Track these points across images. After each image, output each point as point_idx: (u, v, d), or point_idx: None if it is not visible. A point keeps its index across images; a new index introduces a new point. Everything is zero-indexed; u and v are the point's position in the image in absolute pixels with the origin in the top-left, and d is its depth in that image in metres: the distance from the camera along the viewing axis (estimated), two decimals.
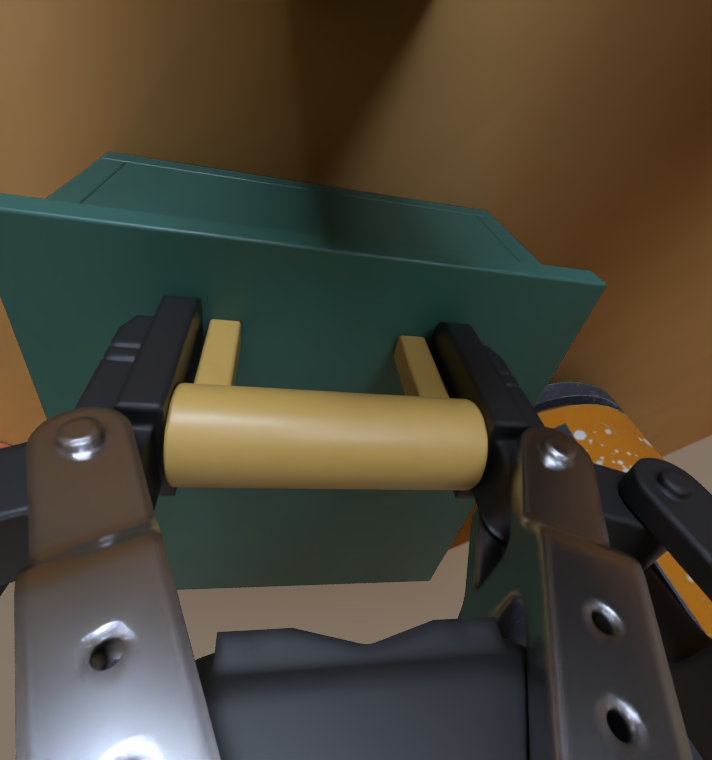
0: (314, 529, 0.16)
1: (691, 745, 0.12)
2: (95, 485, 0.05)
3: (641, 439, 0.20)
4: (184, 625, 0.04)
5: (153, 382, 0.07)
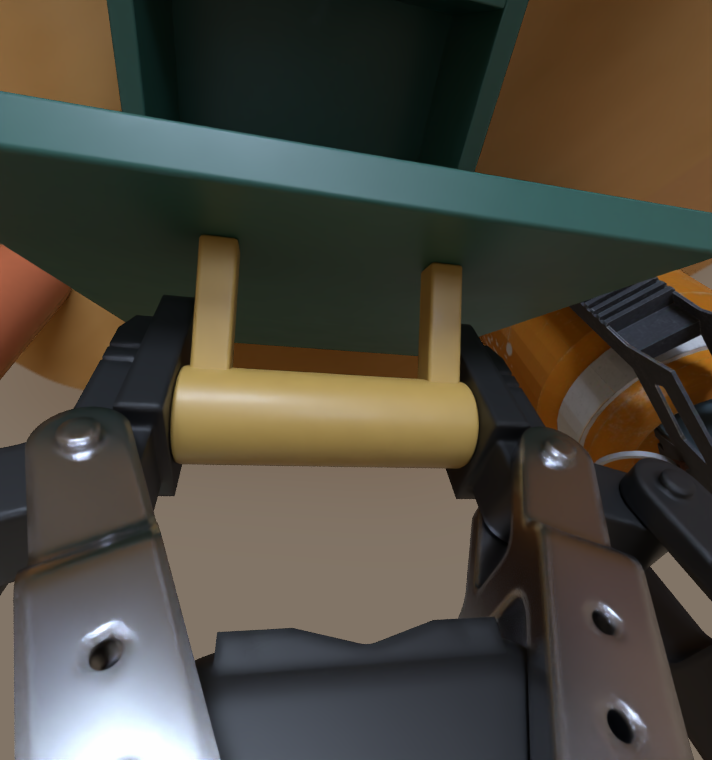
0: (322, 332, 0.17)
1: (635, 342, 0.14)
2: (94, 486, 0.05)
3: None
4: (183, 625, 0.04)
5: (152, 382, 0.07)
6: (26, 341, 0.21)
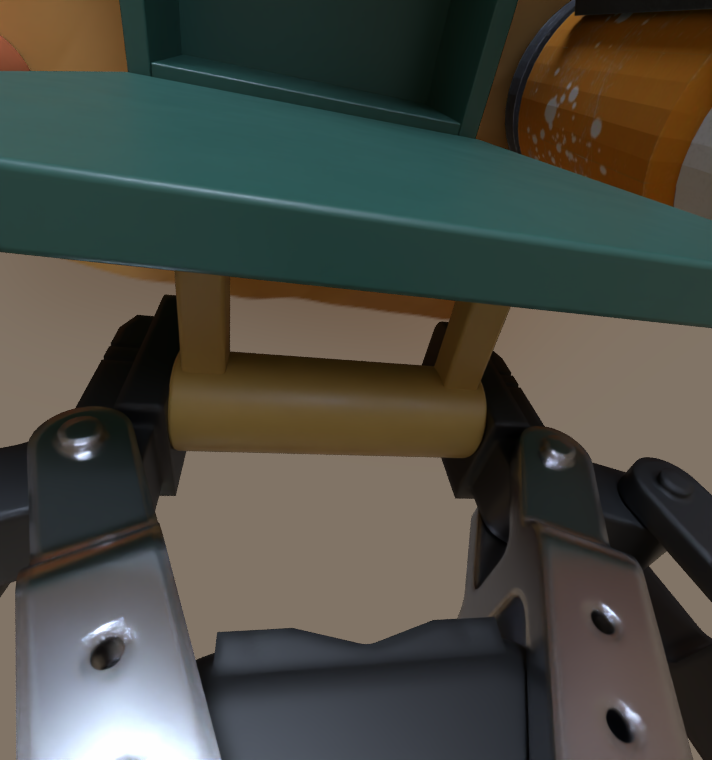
0: None
1: None
2: (96, 485, 0.05)
3: None
4: (185, 624, 0.04)
5: (154, 382, 0.07)
6: None
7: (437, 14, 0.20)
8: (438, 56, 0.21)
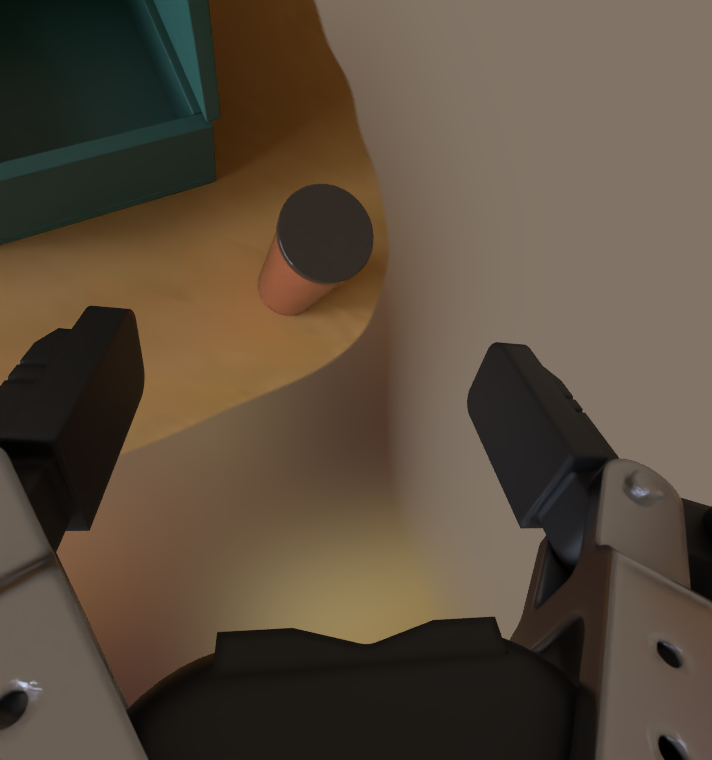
0: None
1: None
2: None
3: None
4: (98, 656, 0.03)
5: (51, 408, 0.06)
6: None
7: None
8: None
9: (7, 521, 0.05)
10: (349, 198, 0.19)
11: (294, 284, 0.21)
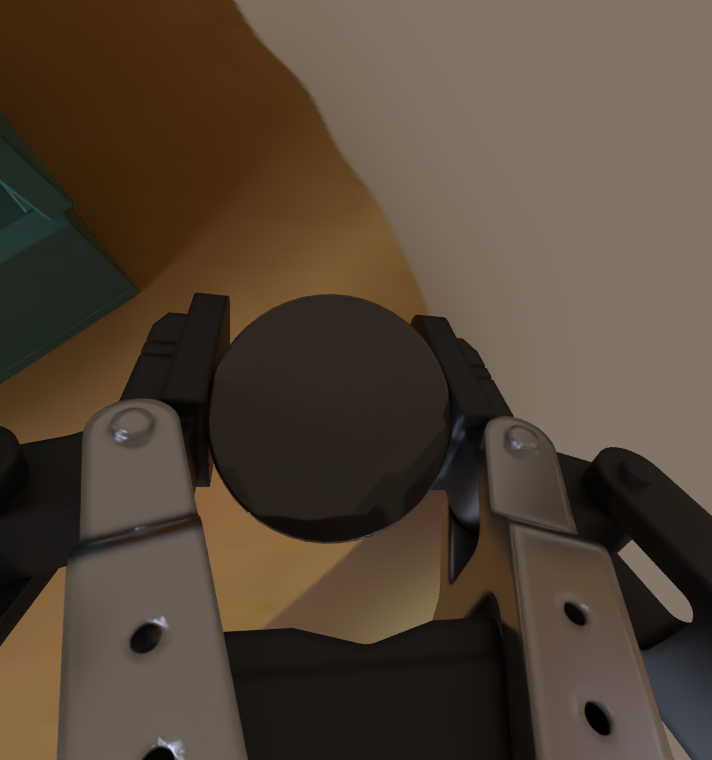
0: None
1: None
2: (143, 474, 0.05)
3: None
4: (219, 618, 0.04)
5: (193, 376, 0.07)
6: None
7: None
8: None
9: (169, 475, 0.05)
10: (367, 312, 0.08)
11: None
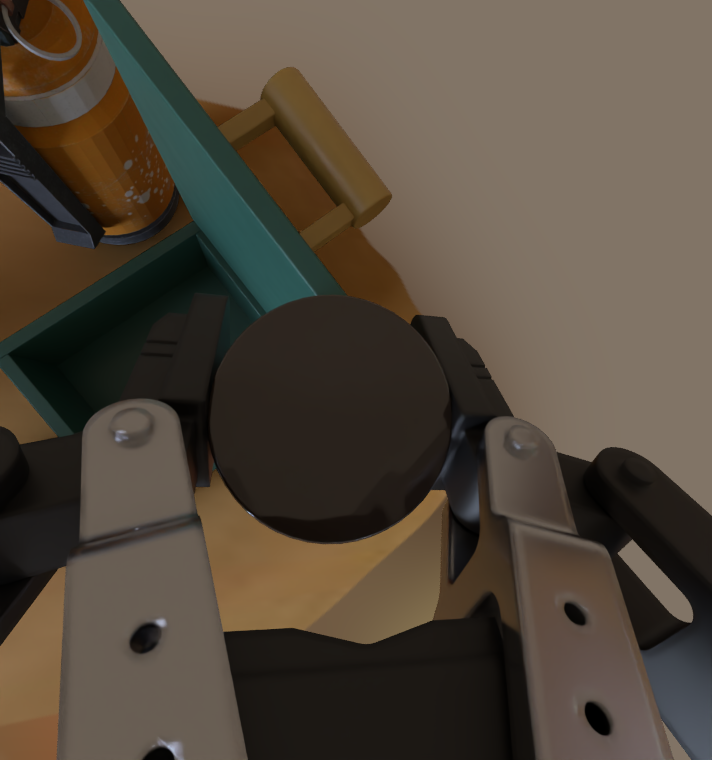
0: None
1: None
2: (143, 474, 0.05)
3: None
4: (219, 618, 0.04)
5: (193, 376, 0.07)
6: None
7: (173, 296, 0.33)
8: (185, 279, 0.33)
9: (169, 475, 0.05)
10: (368, 312, 0.08)
11: None
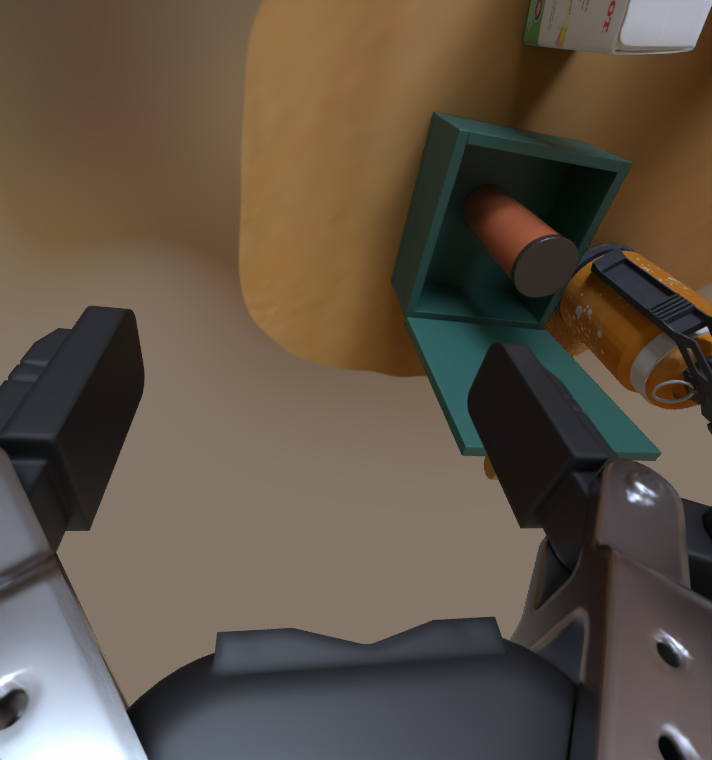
0: None
1: (676, 329, 0.31)
2: None
3: None
4: (98, 656, 0.03)
5: (51, 408, 0.06)
6: None
7: None
8: None
9: (7, 521, 0.05)
10: (549, 292, 0.30)
11: (524, 227, 0.30)
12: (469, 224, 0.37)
